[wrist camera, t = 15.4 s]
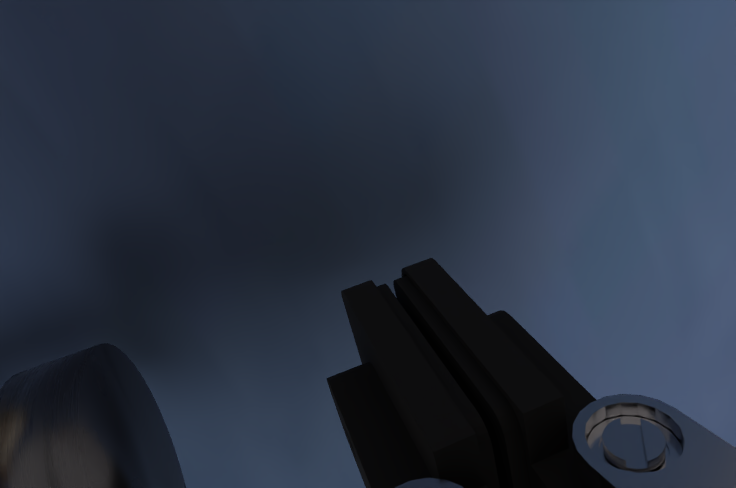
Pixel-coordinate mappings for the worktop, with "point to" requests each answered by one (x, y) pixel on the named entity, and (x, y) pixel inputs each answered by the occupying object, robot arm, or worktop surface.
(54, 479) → the steel shaft
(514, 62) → the worktop surface
